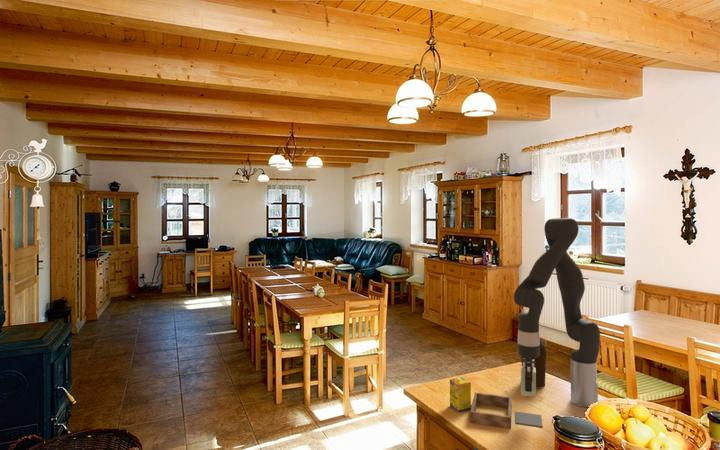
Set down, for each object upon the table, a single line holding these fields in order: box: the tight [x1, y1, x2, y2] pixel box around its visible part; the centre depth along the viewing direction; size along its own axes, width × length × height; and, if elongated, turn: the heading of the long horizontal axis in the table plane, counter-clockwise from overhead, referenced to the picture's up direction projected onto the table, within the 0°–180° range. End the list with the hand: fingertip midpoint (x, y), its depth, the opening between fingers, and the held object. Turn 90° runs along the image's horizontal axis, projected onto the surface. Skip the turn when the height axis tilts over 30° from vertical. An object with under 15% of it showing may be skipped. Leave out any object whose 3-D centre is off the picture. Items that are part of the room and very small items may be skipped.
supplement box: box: [449, 376, 472, 413], centre depth 170 cm, size 6×6×11 cm
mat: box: [515, 411, 543, 428], centre depth 160 cm, size 9×9×1 cm
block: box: [520, 365, 537, 398], centre depth 159 cm, size 5×5×9 cm
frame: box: [469, 391, 513, 429], centre depth 164 cm, size 14×18×4 cm
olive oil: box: [520, 339, 548, 389], centre depth 192 cm, size 11×11×25 cm
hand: (528, 388), depth 159 cm, fingers closed on block, 5 cm apart
